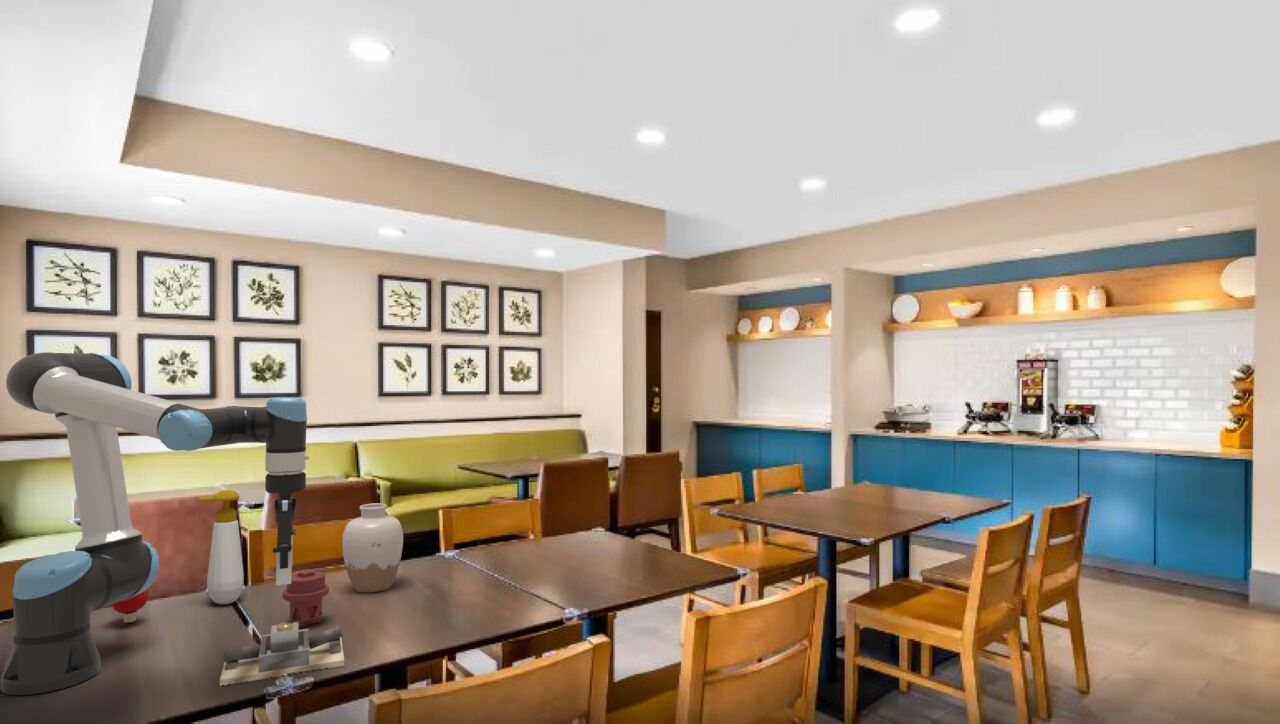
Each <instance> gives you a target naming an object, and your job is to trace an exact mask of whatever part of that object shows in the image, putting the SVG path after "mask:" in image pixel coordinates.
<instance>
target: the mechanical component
mask: <svg viewBox="0 0 1280 724" xmlns="http://www.w3.org/2000/svg"><path fill="white" fill-rule="evenodd" d="M329 592H330V586H329V585H328V584H326V573H325V572H323V571H319V570H315V569H314V568H313V569H312V568H308V569H307V568H306V569H301V570H298V571H297V572H295V573H293V574H292V573H291V584H286V588H285V589H284V590H283V591H282V599H283V600H285V601H286V602H289V620H290V621H291V622H292V621H293V622H298V629H300V628H302V627H305V626H308V625H312V624H317V623H321V621H322V615H323V612H322V610H323V609H322V607H323V598H324V597H326V596H327V595H328V594H329Z"/></svg>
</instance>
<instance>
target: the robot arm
mask: <svg viewBox="0 0 1280 724" xmlns="http://www.w3.org/2000/svg"><path fill="white" fill-rule="evenodd" d="M5 385H6V391H7V392H8V394H9V396H10V398H12V400H13V401H14V402H16V403H17V404H19V405H20V406H22V407H25V408H27V409H31V410H34V411H38V412H41V413H45V414H48V415H53V414H54V417H55V420H56V421H57V422H59V423H61V424H62V425H64V426H65V429H66V434H67V435H66V436H67V440H68V441H67V442H68V447H69V449H68V450H69V455H70V462H71V467H72V474H73V480H74V481H73V483H74V488H75V494H76V496H75V497H76V502H77V509H78V514H79V520H80V521H79V523H80V529H81V535H82V537H81V539H80V540H79V541H78V543H76V545H75V547H74V549H75V550H73V551H72V550H69V551H61V552H57V553H55V554H47V555H45V556H41V557H38V558H35V559H33V560H29V561H28V562H26V563H24V564H23V565H22V566H20V567H19V568H18V569H17V570H16V572H15V575H14V581H13V584H14V585H13V588H12V596H13V598H12V599H13V600H12V601H13V603H12V604H13V607H12V608H13V631H12V632H13V635H12V636H13V637H12V639H13V640H12V643H13V644H12V648H11V651H10V654H9V656H8V658H7V661H6V663H5V666H4V668H3V672H2V674H1V676H0V692H1V693H3V694H5V695H9V696H10V695H11V696H27V695H37V694H43V693H48V692H49V693H50V692H54V691H59V690H62V689H66V688H68V687H72V686H75V685H78V684H81V683H83V682H85V681H88V680H89V679H91V678H93V677H94V676H96V675H97V674H98V673H99V672H100V671H101V666H102V665H101V663H102V662H101V660H102V659H101V655H100V652H99V650H98V648H97V645H96V644H95V641H94V638H93V636H92V633H91V613H93V612H96V611H98V610H100V609H103V608H107V607H108V606H111V605H113V604H114V603H117V602H119V601H124V600H128V599H130V598H132V597H134V596H135V595H138V594H140V593H142V592H144V591H145V590H146V589H147V590H148V589H149V588H150V587H151V586H152V584H153V582H154V581H155V580H156V578H157V576H158V574H159V570H160V569H159V568H160V560H159V559H160V557H159V553H158V552H157V549H156V548H155V547H152V544H151V543H149V542H147V541H146V540H145V541H144V540H143V536H142V535H143V534H142V532H141V531H140V530H138V529H135V527H133V525H132V519H131V514H130V507H129V499H128V494H127V486H126V480H125V474H124V468H123V461H122V454H121V449H120V448H121V447H120V441H119V440H120V439H119V434H118V429H121V430H126V431H127V432H128V431H129V432H131V433H135V434H139V435H142V436H147V437H150V438H153V439H156V440H159V441H160V442H161V443H162V444H163V446H164V447H166V448H167V449H169V450H172V451H176V452H177V451H179V452H180V451H185V452H187V451H188V452H191V451H195V450H200V449H206V448H212V447H219V446H220V447H221V446H226V445H229V446H230V445H233V444H234V445H235V444H236V445H237V444H244V443H246V444H248V443H251V444H252V443H255V444H265V460H264V461H265V466H264V467H265V472H267V474H266V475H265V479H264V480H265V483H264V484H265V487H264V488H265V492H266V493H267V494H268V493H269V494H278V496H279V497H278V498H279V499H275V500H274V511H275V523H277V533H276V535H277V536H276V537H277V541H276V547H273V548H272V553H273V554H274V553H275V554H276V558H275V559H276V560H275V561H276V564H275V565H276V567H275V568H276V569H275V571H276V575H275V586H282V585H287V584H291V575H292V570H293V569H292V568H293V550H294V549H293V547H294V546H293V541H294V540H293V539H294V537H293V536H296V535H297V530H296V529H294V526H293V522H294V521H295V515H296V508H297V498H293V495H294V493H300V492H303V491H305V489H306V486H307V474H306V473H305V469H307V468H306V467H307V466H306V463H307V462H306V461H307V460H309V459H310V456H309V455H308V454H307V426H308V424H307V423H308V414H307V413H308V412H307V402H306V400H305V399H304V398H303V397H269V398H268V399H267V400H266V404H265V406H241V405H239V406H238V405H227V406H220V407H219V406H218V407H215V408H198V407H197V408H196V407H193V406H190V405H186V404H182V403H181V402H179V403H178V402H175V401H173V400H172V401H171V400H169V399H165V398H161V397H157V396H154V395H150V394H146V393H144V392H139V391H135V390H132V385H133V384H132V378H131V374H130V372H129V370H128V368H127V367H126V366H125V364H123V362H121V361H120V360H118V359H117V358H116V357H113V356H111V355H109V354H108V355H107V354H99V353H93V352H88V353H83V352H81V353H80V352H78V353H77V352H75V353H74V352H49V351H48V352H47V351H46V352H37V353H32V354H30V355H27V356H25V357H22V358H21V359H19V360H18V361H17V362H15V363H14V364H13V365H12V367H10V369H9V371H8V373H7V376H6V380H5ZM117 428H118V429H117Z"/></svg>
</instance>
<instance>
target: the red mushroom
mask: <svg viewBox="0 0 1280 724" xmlns="http://www.w3.org/2000/svg"><path fill="white" fill-rule="evenodd" d="M148 598H149V591H148V589H146V590H145V591H144V592H142V593H140V594H138V595H135V596H134V597H132V598H130V599H128V600H124V601H119V602H117V603H114V604H112V607H113V609H114V611H116V612H117V613H119V614H122V615H123V618H122V621H123V622H124V623H126V624H129V625H130V624H133V623H134V622H135V621H136V620H137V619H138V610H141V609H143V607H144V606H145V605H146V604H147V602H148Z"/></svg>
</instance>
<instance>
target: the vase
mask: <svg viewBox="0 0 1280 724" xmlns="http://www.w3.org/2000/svg"><path fill="white" fill-rule="evenodd" d="M387 507H388V505H387V504H386V503H381V502H380V503H375V502H374V503H373V502H372V503H366V504H361V505H360V506H359V511H360V514H361V515H360V516H359V517H356V518H354V519H352V520H350V521H348V522H347V524H346V525H345V528H344V530H343V533H342V542H341V543H342V554H343V560H344V565H345V570H346V572H347V575H348V578H349V581H350V584H351V586H352V587H353V588H352V589H353V590H354V591H355V592H357V593H362V594H370V593H371V594H372V593H379V592H384V591H386V590H388V589H390V588H391V587H392V586H393V583H394V581H395V578H396V575H397V573H398V570H399V566H400V564H401V558H402V552H403V545H404V531H403V528H402V524H401V522H400V520H399V519H398V518H397V517H394V516H392V515H387V514H386V508H387Z"/></svg>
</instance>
